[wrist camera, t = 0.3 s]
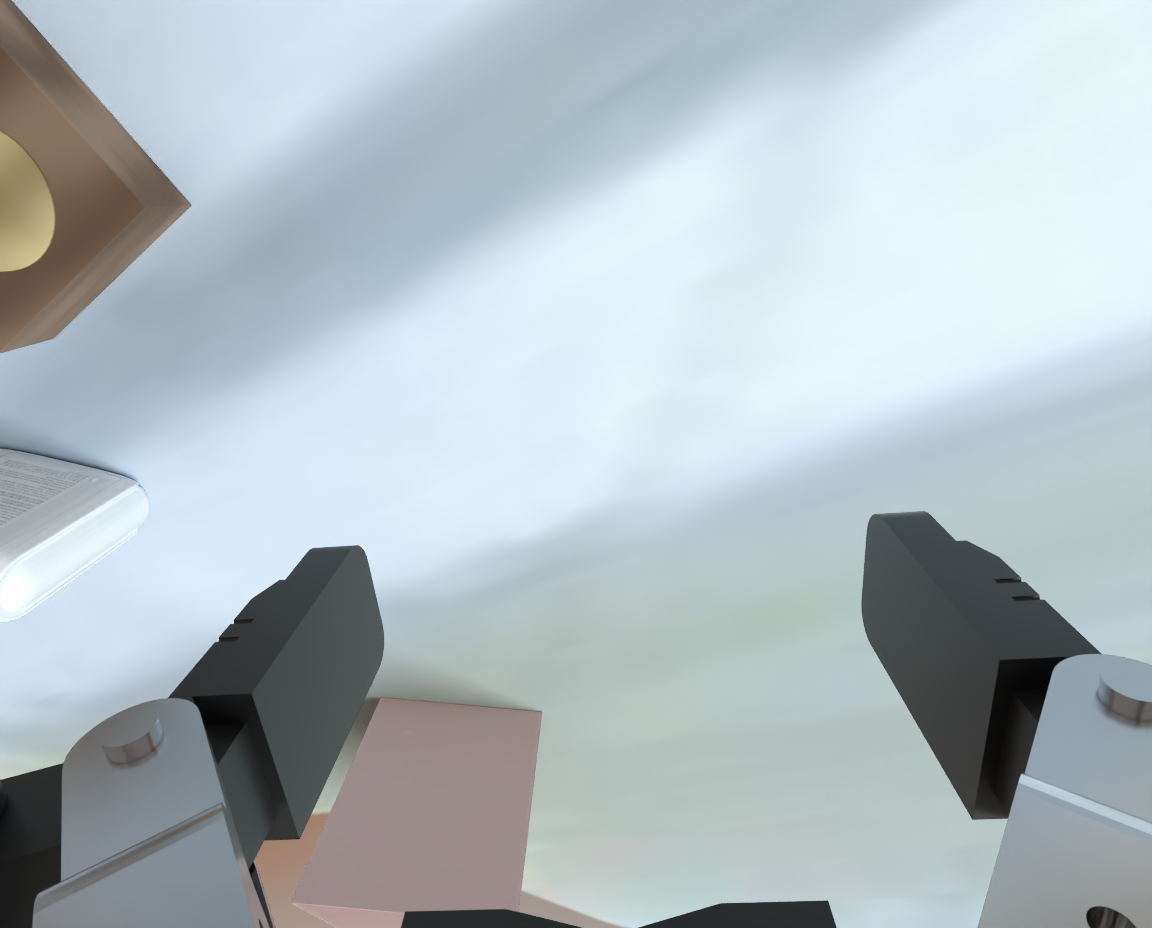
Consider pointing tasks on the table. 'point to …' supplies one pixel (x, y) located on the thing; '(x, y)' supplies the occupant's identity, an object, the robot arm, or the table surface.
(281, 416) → the table surface
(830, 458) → the table surface
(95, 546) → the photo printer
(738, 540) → the table surface
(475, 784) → the greeting card
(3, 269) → the mount board
